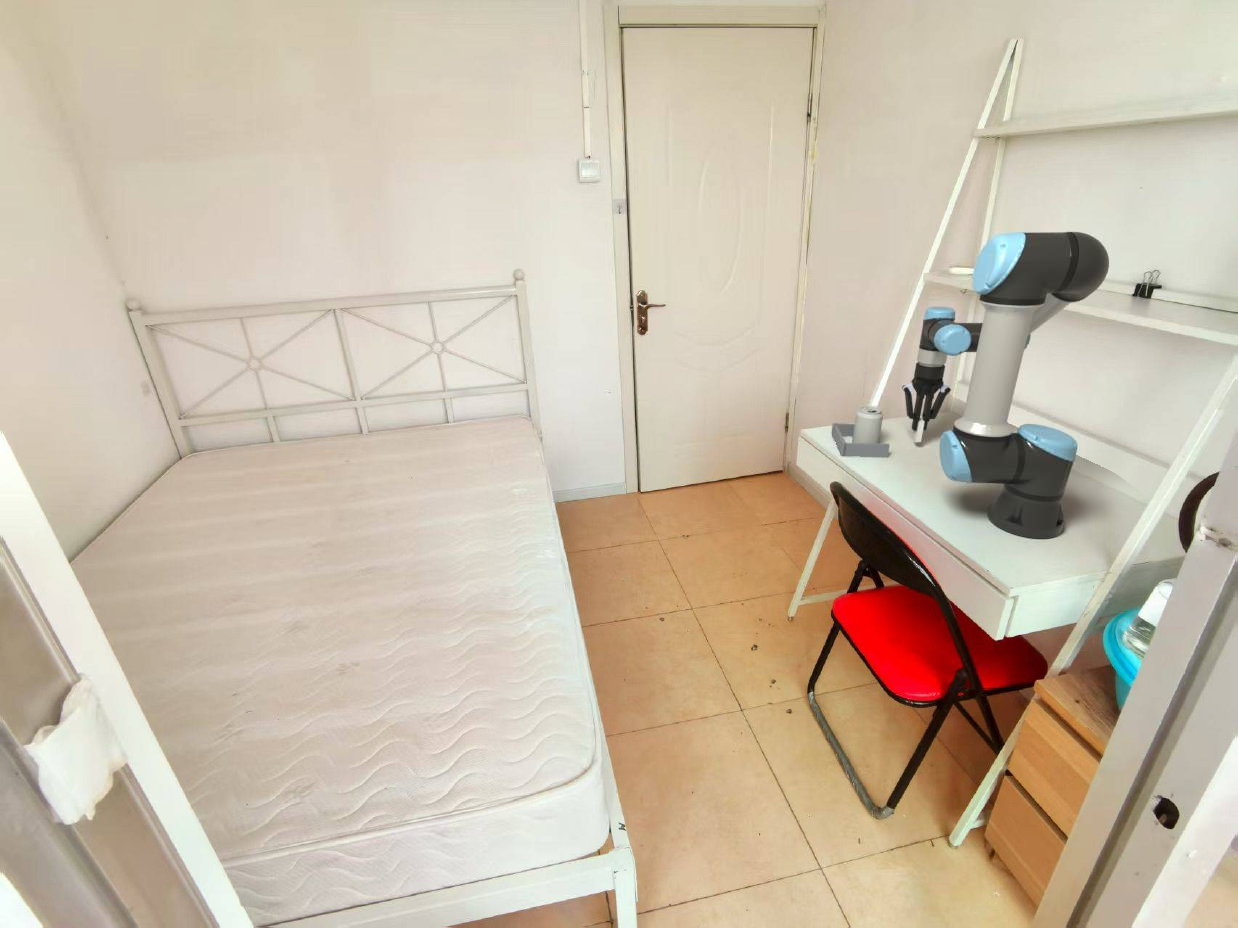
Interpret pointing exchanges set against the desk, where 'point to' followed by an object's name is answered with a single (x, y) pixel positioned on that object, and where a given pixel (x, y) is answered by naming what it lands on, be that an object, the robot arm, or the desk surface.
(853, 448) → the box
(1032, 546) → the desk surface
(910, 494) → the desk surface
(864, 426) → the can
